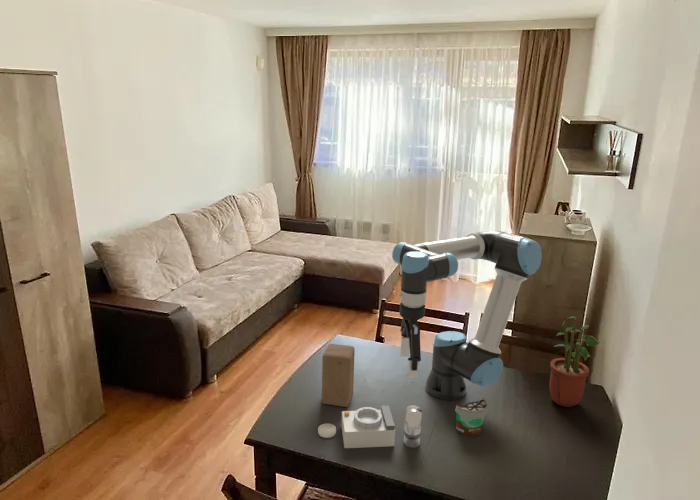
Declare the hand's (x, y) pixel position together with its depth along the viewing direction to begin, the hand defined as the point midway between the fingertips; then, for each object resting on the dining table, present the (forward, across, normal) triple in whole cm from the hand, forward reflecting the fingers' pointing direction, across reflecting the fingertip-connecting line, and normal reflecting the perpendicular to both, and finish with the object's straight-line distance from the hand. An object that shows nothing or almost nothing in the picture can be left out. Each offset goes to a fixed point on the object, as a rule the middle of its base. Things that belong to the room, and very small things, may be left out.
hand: (408, 366), depth 155 cm
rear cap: (+27, -5, -25) cm, 37 cm away
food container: (+27, -3, +24) cm, 36 cm away
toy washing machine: (+27, -2, -12) cm, 29 cm away
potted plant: (+27, -22, +65) cm, 73 cm away
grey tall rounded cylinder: (+27, +1, +2) cm, 27 cm away
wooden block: (+27, -24, -20) cm, 41 cm away
